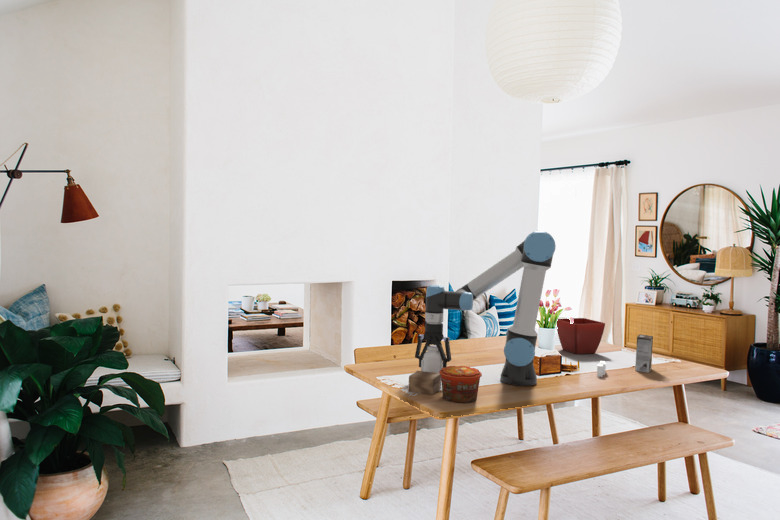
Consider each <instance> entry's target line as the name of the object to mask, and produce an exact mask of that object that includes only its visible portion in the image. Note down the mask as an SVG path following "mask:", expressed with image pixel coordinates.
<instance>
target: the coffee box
mask: <svg viewBox="0 0 780 520" xmlns="http://www.w3.org/2000/svg"><path fill="white" fill-rule="evenodd" d="M653 339H654V336H653V335H647V334H638V335H637V337H636V349H635V350H636V351H635V352H636V353H635V364H634V365H635V367H634V368H635V372H641V373H642V372H644V373H650V371H651V370H652V367H653V366H652V365H653V363H652V362H653V342H654V341H653Z"/></svg>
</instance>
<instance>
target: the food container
mask: <svg viewBox="0 0 780 520" xmlns="http://www.w3.org/2000/svg"><path fill="white" fill-rule="evenodd" d="M439 373H440V374H441V391H442V392H441V393H442V398H443V399H444V401H448V402H452V403H459V404H461V403H462V404H464V403H472V402H475V401H477V399H478V394H479V386H480V379H481V377H482V375H483V374H482V372H481V371H480V370H479V369H478V368H475V367H470V366H465V365H459V366H456V365H448V366H447V367H446V368H445V367H444V368H442V369H441V370H440V371H439Z"/></svg>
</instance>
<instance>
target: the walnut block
mask: <svg viewBox="0 0 780 520" xmlns="http://www.w3.org/2000/svg"><path fill="white" fill-rule="evenodd" d="M441 385H442V382H441V374H440V373H432V372H424V371H421V370H416V371H414V372H413V373H412V374H410V375H409V376H408V392H411V393H417V394H425V395H430V396H431V395H434V394H435V393H437V392H438V391H439V390H440V389H441Z"/></svg>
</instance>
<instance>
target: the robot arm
mask: <svg viewBox="0 0 780 520" xmlns="http://www.w3.org/2000/svg"><path fill="white" fill-rule="evenodd" d="M555 251H556V241H555V239H554V237H553V235H551V234H550V233H548V232H547V231H543V230H536V231H532V232H531V233H529V234H528V235H527V236H526V238H525V239H524V241H522V242H521V243H520V244H518V245H517V246H516V247H515V250H514V251H513V252H511V253H509V254H508V255H507V256H505V257H504V258H502V259H501V260H499V261H497V263H495V264H493V265H492V266H491V267H489V268H488V269H486V270H485V271H483V272H482V273H480V274H479V275H478V276H476V277H474V278H473V279H472V280H470V281H469V282H468V283H466V284H464V285H463V286H462V287H460V288H458V289H457V290H455V291H449V290H445V286H443V285H437V284H436V285H435V284H434V285H432V284H431V285H428V286H427V287H426V290H425V291H426V293H425V314H424V315H425V316H424V317H425V320H424V322H425V323H424V333H423V334H417V343H416V348H415V352H414V353H415V354H414V358H415V359H417V360H418V367H419V368H420V371H423V360H424V354H425V353H426V352H428V351H427V346H429V345H436V346H437V348H438V350H439V353H440V355H441V358H442V362H441V369H442V368H444V367H445V368H446V367H447V365H448V363H449V362H450V361H452V355H451V354H452V352H451V346H450V341H451V337H449V336H444V324H443V322H444V310H453V311H454V310H455V311H463V312H464V311H472V310H473V307H474V301H475V300H477V299H478V298H479V297H481V296H482V295H484V294H485V293H487V292H488V291H489V290H491V289H492V288H494V287H495V286H497V285H499V284H500V283H502V282H503V281H504V280H506V279H507V278H509V277H510V276H512V275H513V274H515V273H516V272H518V271H519V270H521V269H522V268H523V270H522V276H521V279H520V280H521V282H520V286H519V291H518V296H517V302H516V308H515V311H514V312H515V313H514V319H513V324H512V325H511V326H509V327H508V328H507V329H506V332H505V336H506V338H505V339H506V340H505V346H504V347H503V353H504V357H505V361H504V365H503V367H502V371H501V373H500V381H501V382H502V383H504V384H508V385H512V386H519V387H520V386H521V387H529V386H534V385H536V384H537V383H538V382H537V381H538V378H537V374H536V371H535V367H534V359H535V355H536V351H535V350H536V346H537V340H538V335H539V334H538V332H537V331H536V324H537V318H538V315H539V314H538V313H539V308H540V305H541V299H542V293H543V289H544V284H545V282H544V281H545V278H546V273H547V271H548V270H549V269H551V267H552V263H553V256H554V253H555ZM423 340H425V344H424V346H423V349H422V344H423ZM442 341H443V342H444V347H445V351H444V348H443V344H442ZM421 350H422V351H421Z"/></svg>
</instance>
